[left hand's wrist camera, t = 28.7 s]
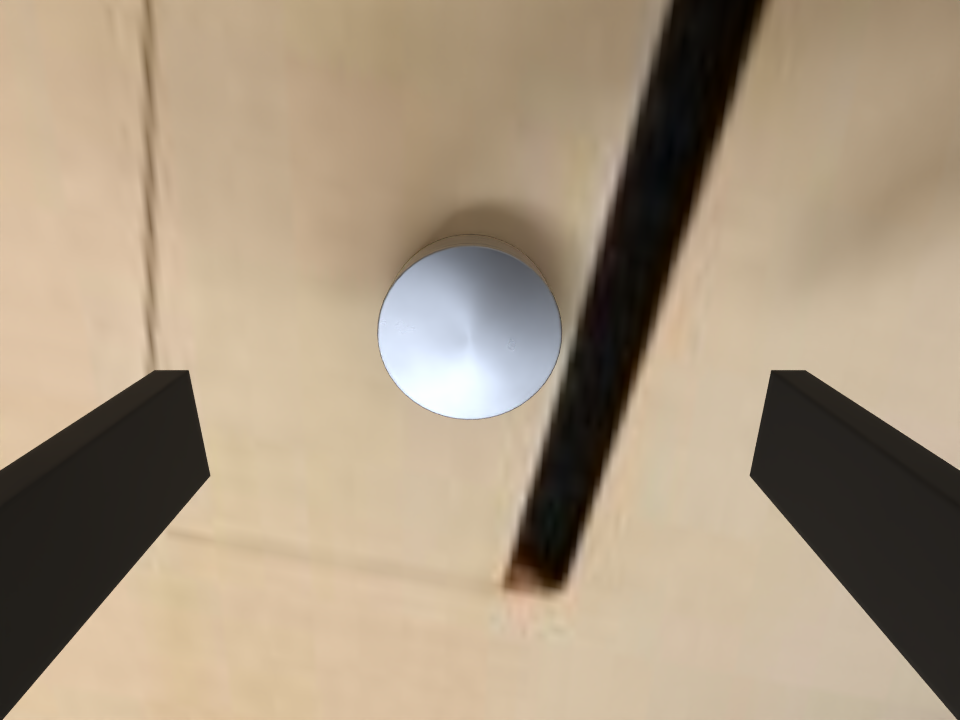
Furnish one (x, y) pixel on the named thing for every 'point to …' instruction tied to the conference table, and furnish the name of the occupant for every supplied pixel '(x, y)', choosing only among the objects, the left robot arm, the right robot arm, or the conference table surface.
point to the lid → (469, 328)
